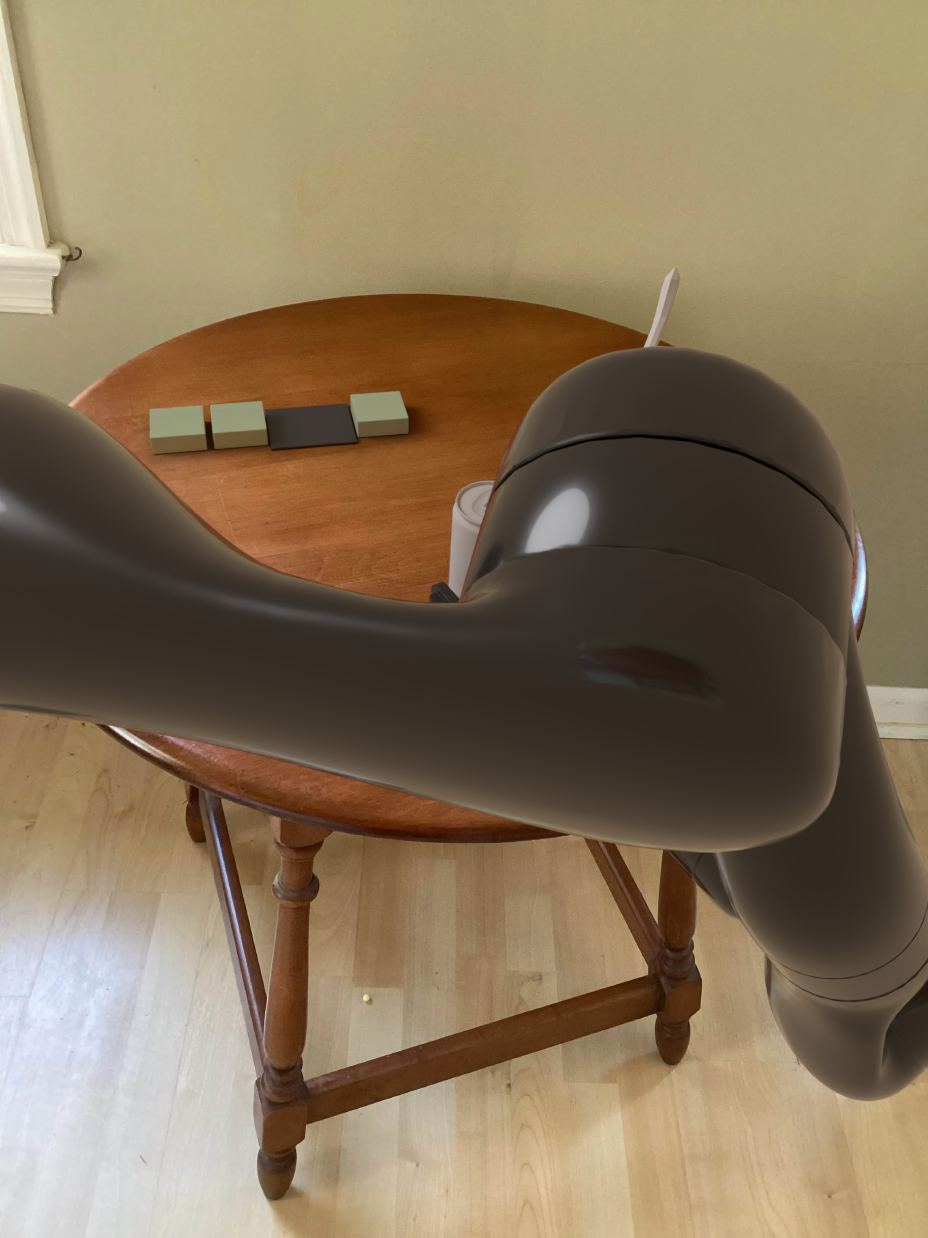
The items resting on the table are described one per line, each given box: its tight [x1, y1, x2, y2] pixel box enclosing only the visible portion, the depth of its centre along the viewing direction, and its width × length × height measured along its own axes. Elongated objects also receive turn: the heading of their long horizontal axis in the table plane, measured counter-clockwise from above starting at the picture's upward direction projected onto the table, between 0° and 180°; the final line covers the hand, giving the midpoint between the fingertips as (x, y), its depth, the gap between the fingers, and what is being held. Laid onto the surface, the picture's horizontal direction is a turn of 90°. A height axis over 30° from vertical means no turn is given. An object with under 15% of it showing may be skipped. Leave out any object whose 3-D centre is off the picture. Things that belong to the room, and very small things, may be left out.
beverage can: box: [448, 480, 495, 598], centre depth 68 cm, size 5×5×12 cm
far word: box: [149, 390, 410, 455], centre depth 89 cm, size 21×6×2 cm, turn 103°
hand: (492, 571), depth 67 cm, fingers open, 8 cm apart
